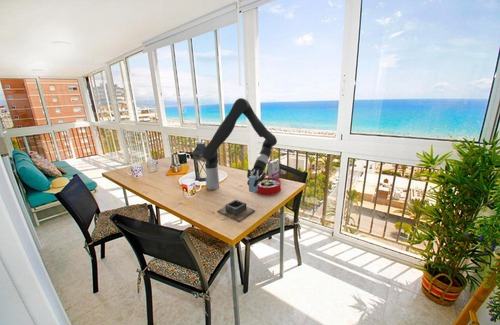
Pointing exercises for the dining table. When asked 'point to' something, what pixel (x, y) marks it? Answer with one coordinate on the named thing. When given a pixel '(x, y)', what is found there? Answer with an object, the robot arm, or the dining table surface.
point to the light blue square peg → (251, 183)
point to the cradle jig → (236, 210)
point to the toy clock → (269, 186)
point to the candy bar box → (273, 169)
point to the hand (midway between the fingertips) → (251, 185)
